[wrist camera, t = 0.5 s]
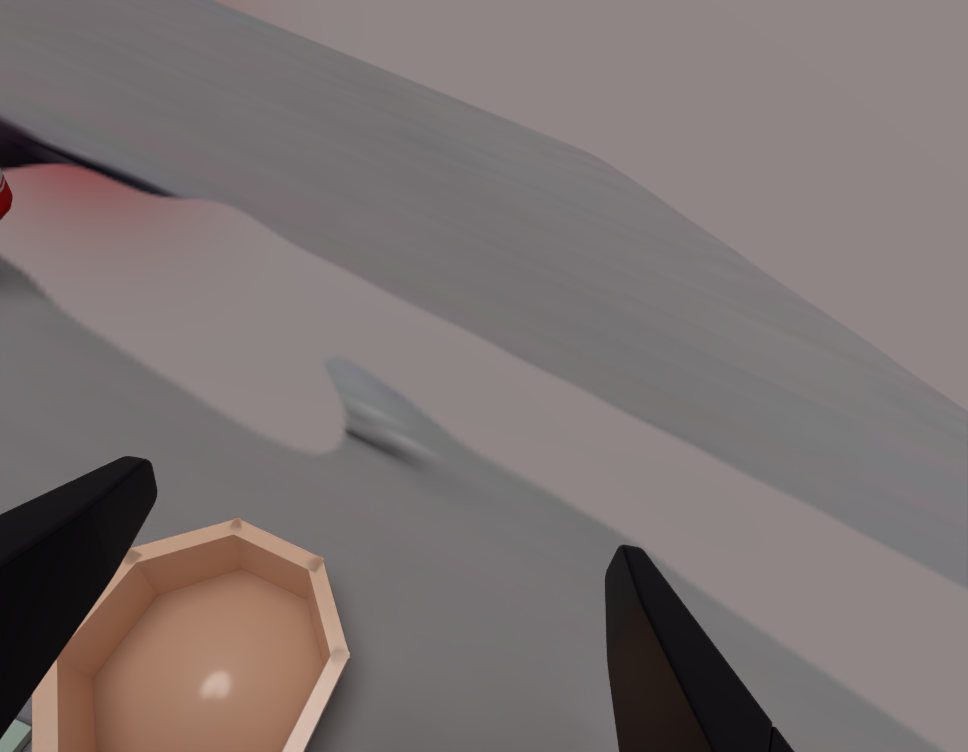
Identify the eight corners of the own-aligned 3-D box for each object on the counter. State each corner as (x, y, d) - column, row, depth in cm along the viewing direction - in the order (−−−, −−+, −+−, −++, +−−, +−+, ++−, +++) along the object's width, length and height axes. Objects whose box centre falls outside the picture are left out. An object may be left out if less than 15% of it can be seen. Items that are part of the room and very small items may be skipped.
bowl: (247, 877, 18) (236, 895, 14) (8, 763, 18) (-57, 754, 14) (371, 616, 24) (384, 585, 20) (193, 532, 24) (178, 488, 21)
